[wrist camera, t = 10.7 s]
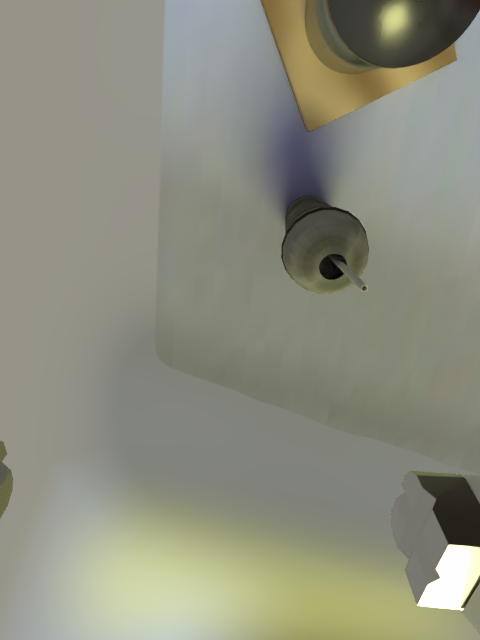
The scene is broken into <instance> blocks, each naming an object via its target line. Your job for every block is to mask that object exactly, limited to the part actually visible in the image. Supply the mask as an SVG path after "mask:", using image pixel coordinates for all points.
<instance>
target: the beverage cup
mask: <svg viewBox="0 0 480 640" xmlns="http://www.w3.org/2000/svg"><path fill="white" fill-rule="evenodd" d="M368 253H369V247H368V241H367V236H366V231H365V229H364V228H363V226H362V224H361V223H360V221H359V220H358V219H357V218H356V217H355V216H353V215H352V214H351V213H349V212H348V211H345V210H342V209H339V208H336V207H331V206H330V205H328V204H327V203H325V202H324V201H322V200H320V199H318V198H315V197H312V196H304V197H301V198H298V199H297V200H296V201H294V202H293V203H292V204H291V205H290V207H289V208H288V211H287V214H286V234H285V237H284V240H283V243H282V256H281V258H282V261H283V264H284V267H285V270H286V271H287V272H288V274H289V275H290V277H291V278H292V279H293V280H294V281H295V282H296V283H297V284H299V285H300V286H301V287H303V288H304V289H306V290H308V291H311V292H315V293H318V294H333V293H336V292H339V291H343V290H344V289H346V288H348V287H349V286H351V285H352V284H355V285H356V286H357V287H358V288H359V289H360V290H361V291H362V292H365V291H367V289H368V287H367V285H366V284H365V283H364V282H363V281H362V280H361V279H360V278H359V277H360V276H361V275H362V273H363V271H364V268H365V266H366V264H367V261H368Z"/></svg>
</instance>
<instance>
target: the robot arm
mask: <svg viewBox="0 0 480 640" xmlns="http://www.w3.org/2000/svg"><path fill="white" fill-rule="evenodd" d="M6 455H7V452H6V449H5V445H4V442H2V441H0V518H1V517H2V515H3V513H4V511H5V509H6V508H7V506H8V503H9V500H10V496H11V493H12V487H13V477H12V473H11V470H10V469H9V468H8V467H7V466H6V465H5V464H4V463H2V461H3V459H4V458H5V456H6ZM402 486H403V489H404V492H405V493H403V494H402V495H400V496H399V497H397V498H396V499H395V502H394V505H393V508H392V517H391V524H392V530H393V536H394V538H395V542H396V545H397V548H398V549H399V550H400V551H401V552H402V553H403V554H404V555H405V556H406V557H407V558H408V559H409V560H408V562H407V565H406V568H405V571H406V575H407V578H408V580H409V583H410V586H411V589H412V592H413V595H414V598H415V601H416V603H417V606H426V607H436V608H447V609H457V610H463V611H462V613H463V615H464V616H465V617H466V618H467V619H468V621H469V622H470V623H471V624H472V625H473V626H474V628H475V629H476V630H477V631H478V632H479V634H480V476H477V475H461V474H459V475H456V474H449V473H434V472H418V471H409V472H408V473H407V474H406V475H405V476H404V479H403V481H402Z"/></svg>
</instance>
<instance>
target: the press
mask: <svg viewBox="0 0 480 640" xmlns="http://www.w3.org/2000/svg"><path fill="white" fill-rule="evenodd" d="M479 10H480V0H307V1H306V6H305V29H306V35H307V38H308V41H309V44H310V47H311V48H312V50H313V52H314V54H315V55H316V57H317V58H318V59H319V60H320V61H321V62H322V63H323V64H324V65H325V66H327V67H328V68H330V69H332V70H333V71H336V72H339V73H343V74H359V73H363V72H367V71H371V70H375V69H379V68H389V69H396V68H404V67H409V66H412V65H416V64H420V63H422V62H425V61H427V60H429V59H431V58H433V57H435V56H437V55H438V54H440V53H441V52H443V51H444V50H445V49H447V48H448V47H450V46H451V45H452V44H453V43H454V42H455V41H456V40H457V39H458V38H459V37H460V36H461V35H462V34H463V33H464V31H465V30H466V29H467V28H468V27H469V25H470V24H471V22H472V21H473V20H474V18H475V17H476V15H477V13H478V12H479Z"/></svg>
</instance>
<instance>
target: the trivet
mask: <svg viewBox="0 0 480 640" xmlns="http://www.w3.org/2000/svg"><path fill="white" fill-rule="evenodd" d="M306 1H307V0H261V3H262V6H263V8H264V11H265V14H266V17H267V20H268V23H269V25H270V28H271V31H272V34H273V37H274V40H275V42H276V45H277V48H278V51H279V54H280V57H281V59H282V62H283V65H284V68H285V71H286V74H287V76H288V79H289V82H290V85H291V88H292V91H293V93H294V96H295V99H296V102H297V105H298V108H299V111H300V113H301V116H302V119H303V122H304V125H305V128H306V130H307V132H311V131H313V130H315V129H317V128H319V127H321V126H323V125H325V124H327V123H329V122H331V121H333V120H335V119H337V118H339V117H341V116H343V115H345V114H347V113H350V112H352V111H354V110H356V109H358V108H360V107H362V106H364V105H366V104H368V103H370V102H372V101H374V100H376V99H378V98H380V97H382V96H384V95H386V94H389V93H391V92H393V91H395V90H397V89H399V88H401V87H403V86H405V85H407V84H409V83H411V82H413V81H415V80H417V79H419V78H421V77H423V76H425V75H428V74H430V73H432V72H434V71H436V70H438V69H440V68H442V67H444V66H446V65H448V64H450V63H452V62H454V61H456V60H457V58H456V53H455V47H454V43H453V44H452V45H451V46H450V47H448V48H447V49H445V50H444V51H443V52H441V53H440V54H438V55H437V56H435V57H433V58H431V59H429V60H427V61H425V62H422V63H420V64H416V65H412V66H409V67H404V68H396V69H389V68H379V69H375V70H371V71H367V72H363V73H359V74H343V73H339V72H336V71H333V70H332V69H330V68H328V67H327V66H325V65H324V64H323V63H322V62H321V61H320V60H319V59H318V58H317V57H316V55H315V54H314V52H313V50H312V48H311V47H310V44H309V41H308V38H307V35H306V29H305V6H306Z"/></svg>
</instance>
